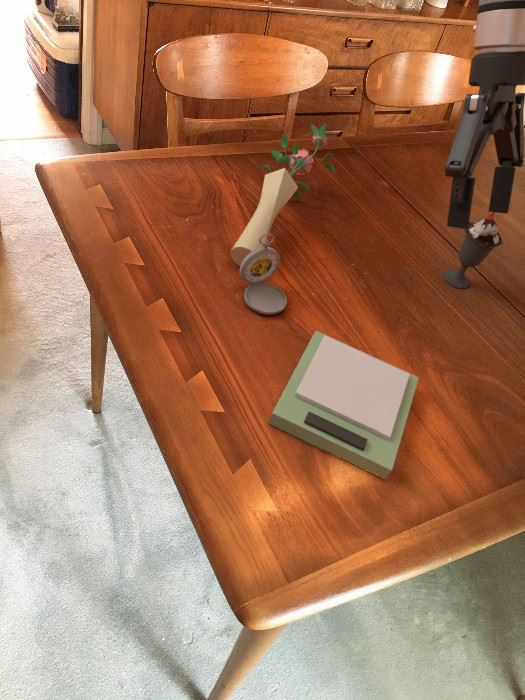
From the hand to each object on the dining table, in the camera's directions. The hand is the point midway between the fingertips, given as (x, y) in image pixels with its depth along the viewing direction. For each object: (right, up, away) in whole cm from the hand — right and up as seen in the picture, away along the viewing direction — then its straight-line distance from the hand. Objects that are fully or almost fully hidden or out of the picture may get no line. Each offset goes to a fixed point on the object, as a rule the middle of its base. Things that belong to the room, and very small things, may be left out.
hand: (479, 219), depth 80 cm
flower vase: (-29, +5, +22) cm, 37 cm away
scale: (-20, -26, -5) cm, 33 cm away
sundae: (+4, -6, +21) cm, 22 cm away
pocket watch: (-31, -10, +7) cm, 34 cm away
